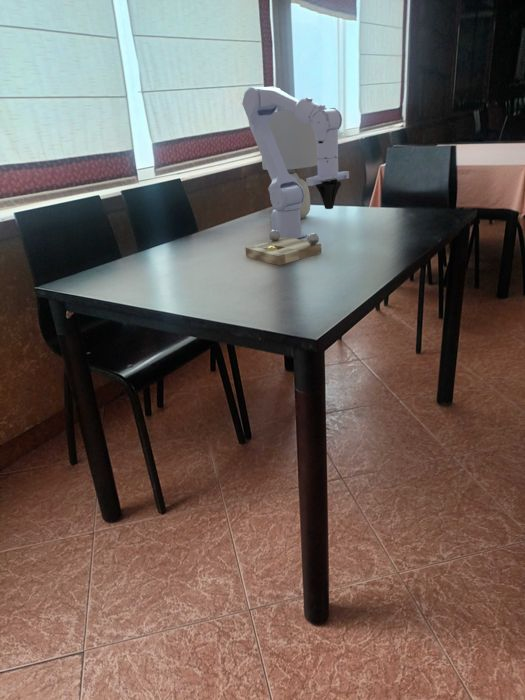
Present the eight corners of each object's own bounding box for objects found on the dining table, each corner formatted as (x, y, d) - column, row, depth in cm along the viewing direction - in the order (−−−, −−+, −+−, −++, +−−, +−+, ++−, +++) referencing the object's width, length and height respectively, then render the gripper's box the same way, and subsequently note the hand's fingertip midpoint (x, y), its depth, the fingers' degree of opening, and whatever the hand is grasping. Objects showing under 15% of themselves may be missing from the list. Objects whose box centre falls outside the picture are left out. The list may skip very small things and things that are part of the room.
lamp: (270, 214, 194) (262, 111, 179) (322, 211, 191) (318, 105, 175) (263, 225, 176) (253, 111, 160) (320, 222, 173) (316, 105, 157)
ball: (262, 249, 135) (271, 243, 136) (266, 259, 137) (275, 254, 138) (268, 249, 133) (277, 243, 134) (272, 260, 134) (281, 254, 135)
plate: (246, 256, 139) (245, 247, 138) (287, 245, 147) (286, 236, 146) (278, 265, 128) (278, 255, 127) (321, 252, 136) (321, 243, 135)
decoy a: (267, 241, 143) (266, 230, 142) (276, 238, 145) (275, 227, 143) (274, 242, 141) (273, 231, 139) (283, 240, 142) (282, 229, 141)
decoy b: (304, 245, 135) (304, 233, 133) (313, 242, 136) (313, 231, 135) (312, 246, 132) (312, 235, 131) (321, 244, 134) (321, 232, 133)
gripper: (317, 161, 128) (319, 214, 134) (356, 154, 136) (357, 205, 141) (300, 160, 133) (302, 212, 139) (338, 154, 141) (339, 203, 147)
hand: (329, 208), depth 141 cm, fingers closed
